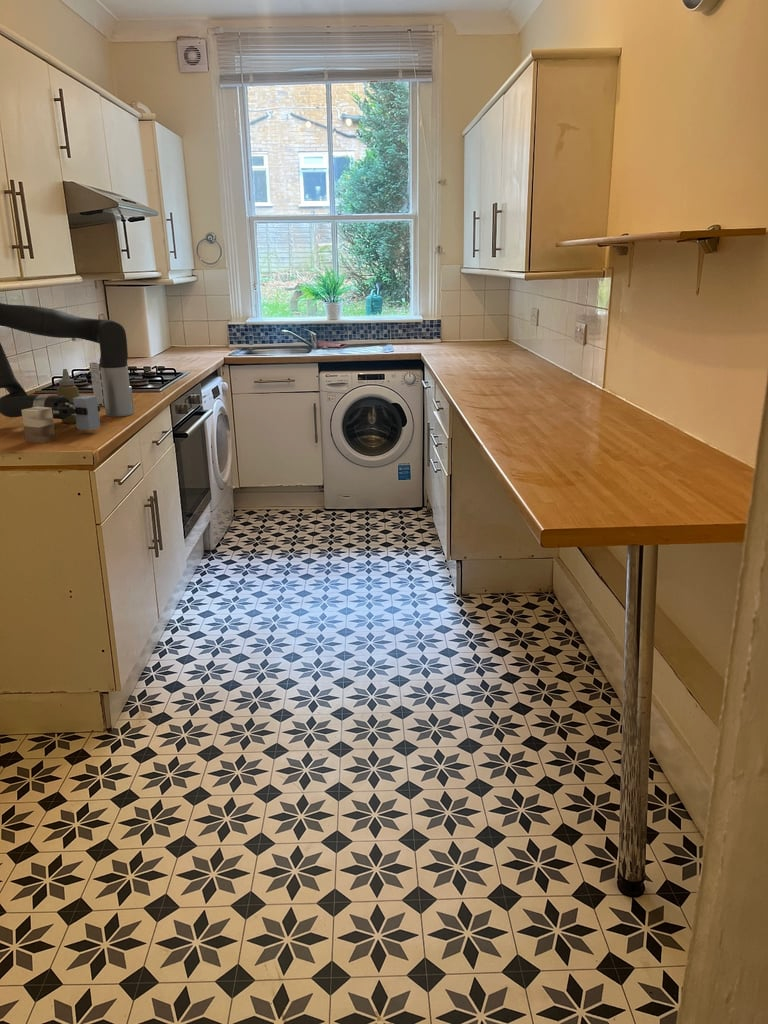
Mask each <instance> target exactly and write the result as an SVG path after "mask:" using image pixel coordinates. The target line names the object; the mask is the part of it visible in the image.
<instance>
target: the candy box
mask: <svg viewBox="0 0 768 1024" xmlns="http://www.w3.org/2000/svg"><path fill="white" fill-rule="evenodd" d="M127 366H128V364H127ZM89 368H90V369H89V370H90V378H91V380H90V381H91V387H92V394H93V395H92V396H97V404H98V405H99V406H102V407H105V403H104V395H103V386H102V377H101V369H100V360H97V361H92V362H89ZM128 375H130V374H129V373H128ZM129 384H130V381H129ZM130 385H131V384H130Z"/></svg>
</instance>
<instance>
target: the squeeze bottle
mask: <svg viewBox="0 0 768 1024" xmlns="http://www.w3.org/2000/svg"><path fill="white" fill-rule="evenodd" d="M58 382H59V386H58V387H57V388H56V390H57V391H56V393H57V395H56V396H64V397H66V398H67V399H68V400H69V401H73V398H75V397H80V392H79V387H78V386H76V385H75V380H74V379H72V378H71V377H70V374H69V371H68V369H67V368H63V369H62V378H61V379H59V380H58ZM61 422H62V423H66V424H72V423H76V417H75V415H72V416H68V417H66V418H65V419H61Z"/></svg>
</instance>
